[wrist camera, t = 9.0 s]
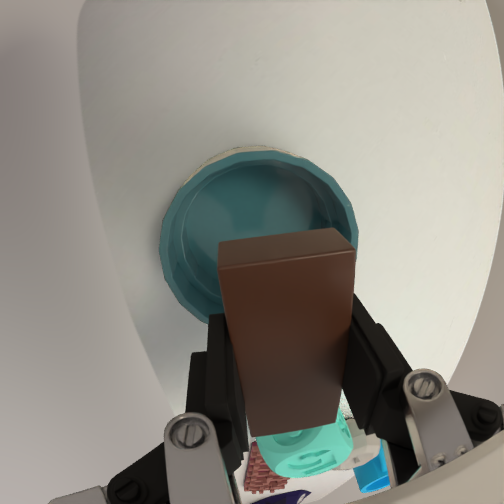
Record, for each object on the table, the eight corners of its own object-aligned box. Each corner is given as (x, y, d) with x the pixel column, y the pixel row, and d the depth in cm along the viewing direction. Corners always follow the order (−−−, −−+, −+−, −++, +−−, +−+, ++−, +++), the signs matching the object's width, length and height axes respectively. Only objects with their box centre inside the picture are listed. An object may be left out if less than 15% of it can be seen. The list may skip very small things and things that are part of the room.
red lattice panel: (243, 486, 40) (244, 495, 39) (252, 442, 33) (253, 454, 31) (282, 484, 41) (284, 492, 39) (304, 438, 34) (307, 449, 32)
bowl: (141, 221, 20) (120, 248, 16) (265, 111, 18) (277, 106, 13) (245, 320, 24) (250, 361, 20) (358, 234, 22) (387, 261, 18)
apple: (359, 401, 31) (377, 442, 25) (378, 420, 34) (393, 454, 28) (305, 430, 33) (316, 470, 27) (331, 445, 36) (341, 480, 30)
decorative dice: (283, 431, 32) (293, 483, 25) (250, 404, 29) (257, 465, 22) (340, 406, 31) (359, 458, 24) (317, 374, 28) (337, 436, 21)
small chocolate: (217, 240, 9) (216, 267, 7) (334, 226, 9) (357, 248, 7) (248, 406, 12) (251, 438, 10) (325, 393, 12) (336, 423, 10)
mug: (392, 442, 39) (407, 477, 31) (348, 459, 39) (360, 496, 32) (396, 411, 34) (416, 453, 26) (343, 432, 34) (359, 478, 27)
